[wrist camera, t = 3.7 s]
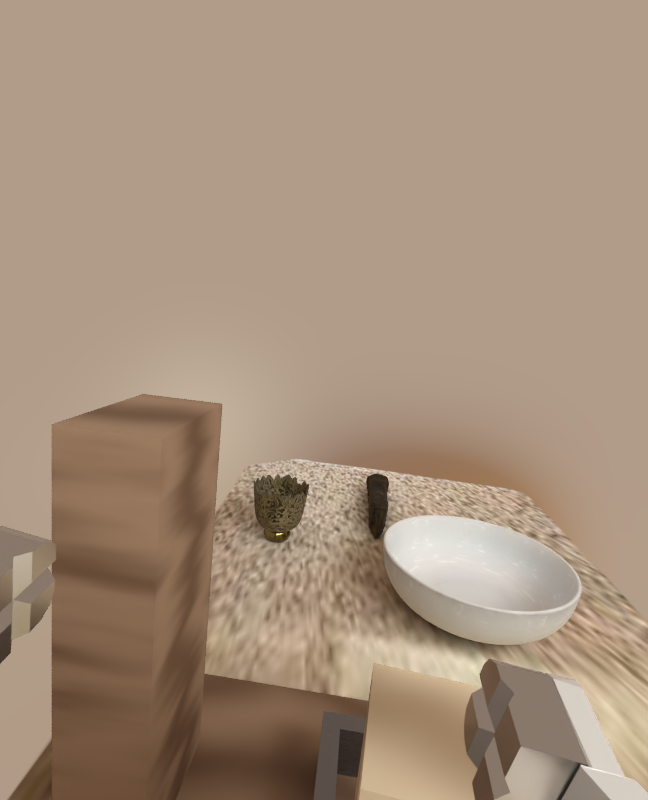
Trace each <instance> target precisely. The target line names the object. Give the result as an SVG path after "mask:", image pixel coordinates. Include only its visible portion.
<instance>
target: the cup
mask: <svg viewBox="0 0 648 800" xmlns="http://www.w3.org/2000/svg"><path fill="white" fill-rule="evenodd" d="M308 489H309V484H307V485H306V482H305V481H304V482H303V483H302V485H300V484H297V479H296V477H294V478H293V480H292V478H291V476H290V475H289V474H288V475H286V476H284V477H283V478H280V476H279V474H277V476H276V477H275V480H273V478H272V477H271V476H270V475H268V476H267V478H265V477H264V476H262V478H261V481H260V480H259V478H257V481H256V482H255V481H254V498H255V513H256V518H257V520H258V522H259V524H260V525H261V526H262V527H263V528H264V535H265V537H266V538H267V539H268V540H270V541H273V542H283V541H285V540H287V539H288V538H289V536H290V533H291V532H290V530H292V529H294V528H295V527H296V526H297V525H298V524H299V522H300V520H301V518H302V514H303V511H304V507H305V503H306V498H307V493H308Z"/></svg>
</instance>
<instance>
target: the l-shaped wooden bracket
mask: <svg viewBox="0 0 648 800" xmlns="http://www.w3.org/2000/svg"><path fill="white" fill-rule="evenodd" d="M221 416H222V404H219V403H211V402H203V401H195V400H187V399H179V398H170V397H162V396H153V395H146V394H142V395H139V396H136V397H133V398H130V399H127V400H124V401H121V402H118V403H115V404H112V405H109V406H106V407H103V408H100V409H97V410H94V411H91V412H88V413H85V414H82V415H79V416H76V417H73V418H69V419H66V420H63V421H61V422H57V423H54V424H52V542H53V543H55V544H56V560H55V561H54V562H53V563H52V575H53V577H54V579H55V587H54V593H53V596H52V800H355V794H356V786H357V779H358V772H359V765H360V758H361V751H362V744H363V737H364V729H365V722H366V715H367V708H368V701H365V700H359V699H353V698H347V697H341V696H335V695H328V694H322V693H316V692H310V691H304V690H298V689H292V688H286V687H280V686H274V685H268V684H262V683H256V682H250V681H244V680H238V679H232V678H226V677H220V676H214V675H208V674H204V671H205V656H206V641H207V626H208V611H209V596H210V581H211V566H212V551H213V536H214V521H215V506H216V491H217V476H218V475H217V474H218V460H219V446H220V431H221Z"/></svg>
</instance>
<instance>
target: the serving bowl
mask: <svg viewBox="0 0 648 800" xmlns="http://www.w3.org/2000/svg"><path fill="white" fill-rule="evenodd" d="M383 557H384V564H385V569H386V572H387V575H388V577H389V579H390V582H391V583H392V585H393V587H394V589H395V590H396V592H397V593H398V595H399V596H400V597H401V598H402V600H403V601H404V602H405V603H406V604H407V605H408V606H409V607H410V608H411V609H412V610H413V611H415V612H416V613H417V614H418V615H420V616H421V617H422V618H424V619H425V620H427V621H428V622H430V623H432V624H433V625H435V626H437V627H439V628H441V629H443V630H445V631H447V632H449V633H452V634H454V635H457V636H460V637H462V638H465V639H469V640H473V641H477V642H482V643H487V644H496V645H519V644H526V643H531V642H535V641H538V640H541V639H543V638H546V637H548V636H549V635H551V634H553V633H555V632H556V631H557V630H559V629H560V628H561V627H562V626H563V625H564V624H565V623H566V622H567V621H568V620H569V618H570V617H571V615H572V614H573V612H574V610H575V608H576V606H577V603H578V601H579V599H580V596H581V591H582V586H581V582H580V579H579V577H578V575H577V573H576V572H575V570H574V569H573V568H572V567H571V566H570V565H569V564H568V563H567V562H566V561H565V560H564V559H563V558H562V557H561V556H559V555H558V554H557V553H555V552H554V551H552V550H551V549H550V548H548V547H546V546H545V545H543V544H541V543H539V542H538V541H536V540H534V539H532V538H529V537H527V536H525V535H523V534H520V533H518V532H516V531H513V530H510V529H507V528H504V527H501V526H498V525H495V524H491V523H487V522H483V521H479V520H474V519H469V518H463V517H456V516H444V515H424V516H415V517H410V518H406V519H403V520H400V521H398V522H396V523H394V524H393V525H391V526H390V527H389V528H388V529H387V530H386V532H385V534H384V537H383Z"/></svg>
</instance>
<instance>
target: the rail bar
mask: <svg viewBox="0 0 648 800" xmlns="http://www.w3.org/2000/svg"><path fill="white" fill-rule="evenodd" d="M480 688H482V687H479V686H474V685H470V684H465V683H461V682H456V681H452V680H447V679H443V678H438V677H434V676H429V675H425V674H420V673H416V672H411V671H407V670H402V669H398V668H393V667H389V666H384V665H380V664H376V663H374V665H373V672H372V680H371V687H370V694H369V701H368V708H367V715H366V722H365V729H364V737H363V744H362V751H361V758H360V765H359V772H358V779H357V786H356V794H355V800H475V797H474V791H473V786H472V781H473V779H474V777H475V774H476V772H477V770H478V769H477V768H476V767H475V765H474V764H473V762H472V761H471V759H470V758H469V757H468V755H467V752H466V746H465V740H464V720H465V712H466V707H467V704H468V702H469V699H470V696H471V694H472V693H473V692H475V691H477V690H478V689H480Z"/></svg>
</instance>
